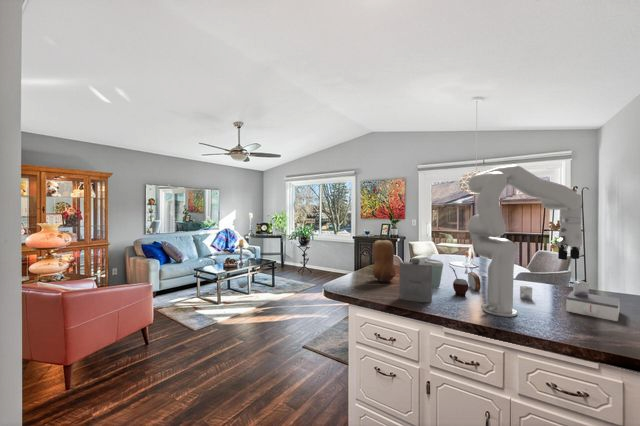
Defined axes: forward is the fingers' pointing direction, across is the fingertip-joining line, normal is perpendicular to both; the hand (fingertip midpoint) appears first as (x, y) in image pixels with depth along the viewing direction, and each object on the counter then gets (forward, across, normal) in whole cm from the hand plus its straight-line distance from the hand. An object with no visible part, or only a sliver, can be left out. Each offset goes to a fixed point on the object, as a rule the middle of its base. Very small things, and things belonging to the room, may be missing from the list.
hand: (568, 258), depth 136 cm
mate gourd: (+23, -31, +32) cm, 50 cm away
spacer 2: (+16, +2, -4) cm, 17 cm away
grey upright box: (+23, -57, +35) cm, 71 cm away
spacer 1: (+22, -5, +15) cm, 27 cm away
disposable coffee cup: (+23, -30, +50) cm, 63 cm away
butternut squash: (+23, -49, +71) cm, 89 cm away
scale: (+22, +3, -8) cm, 24 cm away
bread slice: (+22, -12, +39) cm, 46 cm away
